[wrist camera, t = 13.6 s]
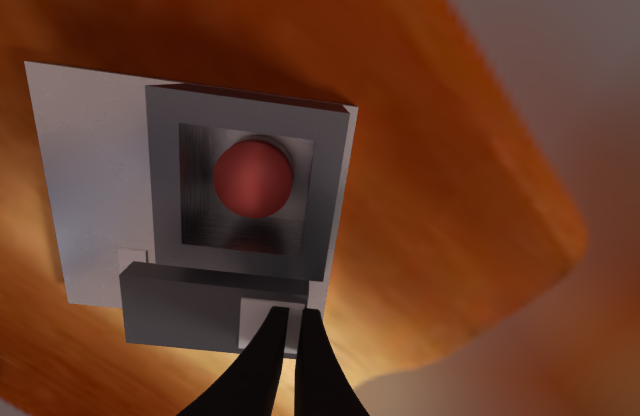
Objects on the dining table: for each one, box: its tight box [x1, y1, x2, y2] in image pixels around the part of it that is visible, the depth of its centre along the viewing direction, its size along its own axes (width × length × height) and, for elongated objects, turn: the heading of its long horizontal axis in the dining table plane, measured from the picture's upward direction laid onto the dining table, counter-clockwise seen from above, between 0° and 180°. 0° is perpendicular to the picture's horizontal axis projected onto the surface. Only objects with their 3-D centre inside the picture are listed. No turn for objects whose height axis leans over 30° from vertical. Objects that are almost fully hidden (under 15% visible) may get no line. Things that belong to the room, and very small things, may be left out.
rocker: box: [119, 261, 309, 359], centre depth 13 cm, size 3×7×1 cm, turn 82°
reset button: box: [213, 135, 295, 218], centre depth 12 cm, size 3×3×2 cm
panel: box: [24, 61, 358, 320], centre depth 13 cm, size 10×12×4 cm
